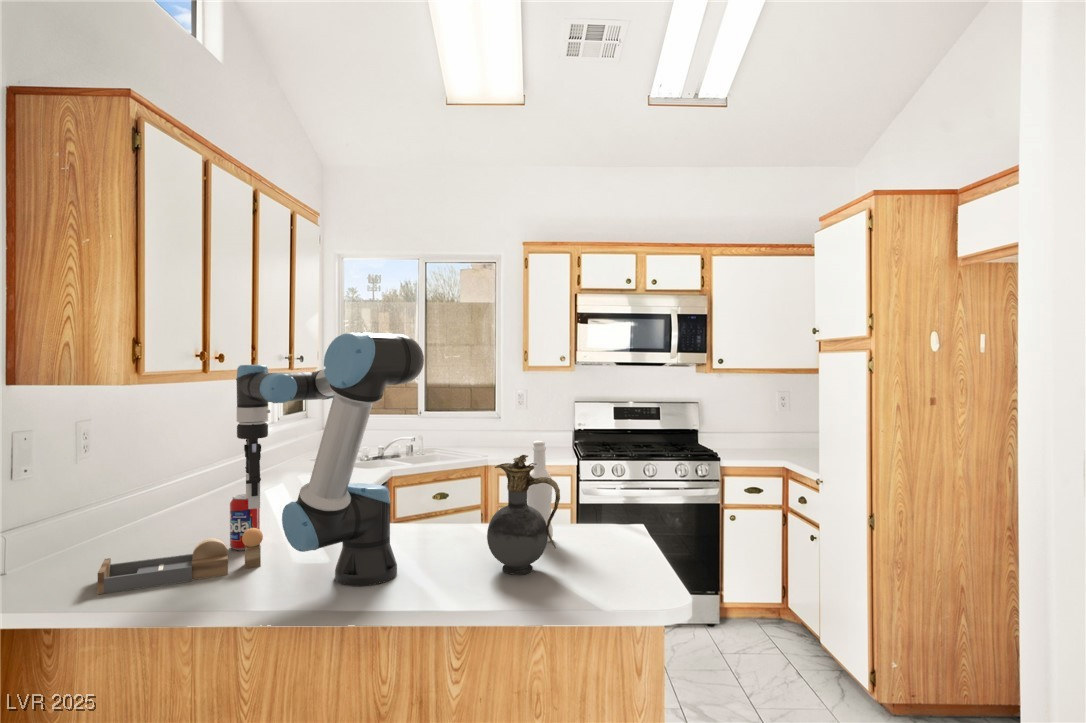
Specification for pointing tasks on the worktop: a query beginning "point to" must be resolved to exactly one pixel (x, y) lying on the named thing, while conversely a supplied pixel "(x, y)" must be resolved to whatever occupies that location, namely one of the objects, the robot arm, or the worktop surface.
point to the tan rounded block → (209, 559)
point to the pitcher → (520, 521)
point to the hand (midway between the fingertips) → (252, 502)
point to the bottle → (540, 485)
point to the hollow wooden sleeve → (252, 556)
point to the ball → (252, 537)
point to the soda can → (241, 520)
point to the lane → (148, 573)
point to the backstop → (103, 574)
